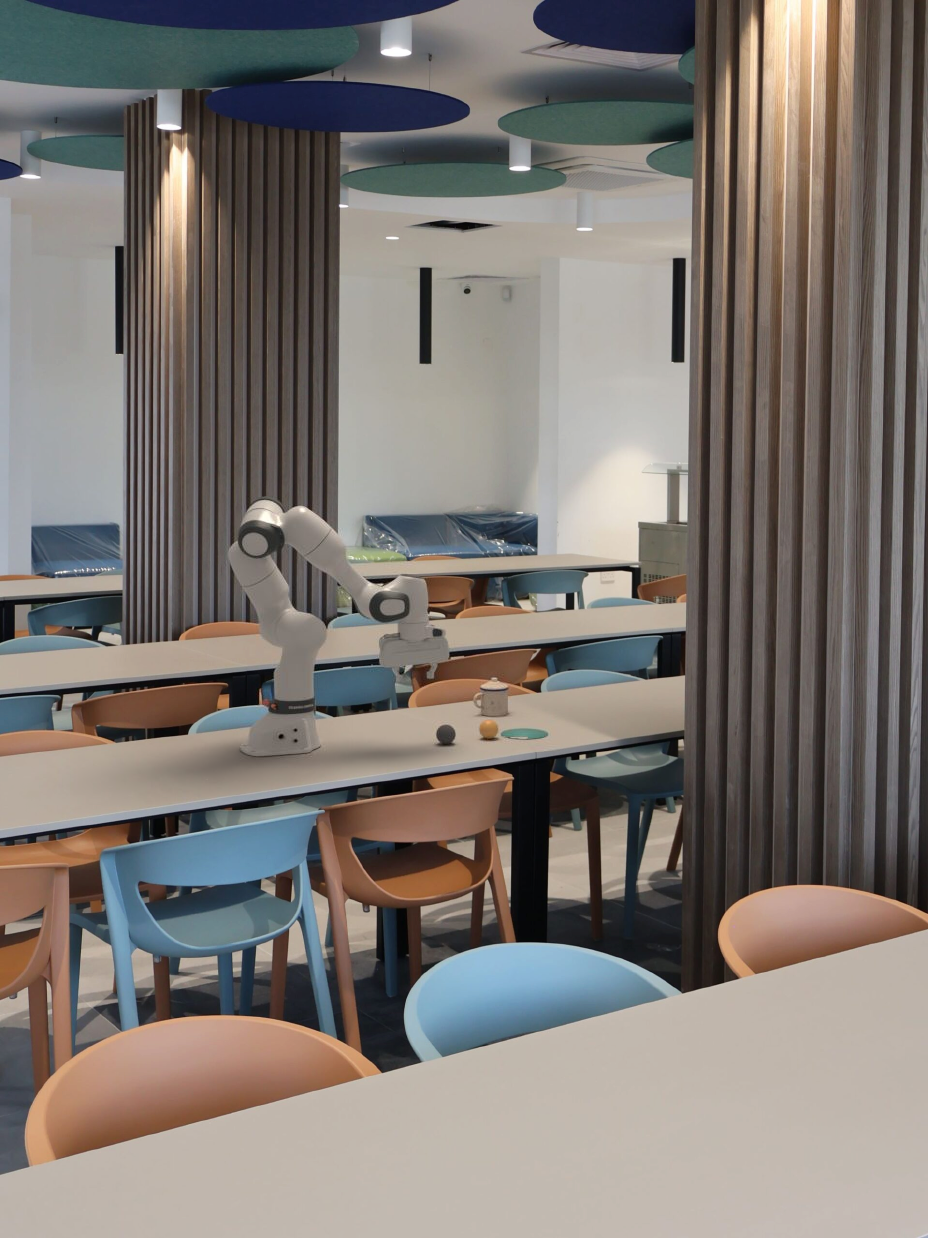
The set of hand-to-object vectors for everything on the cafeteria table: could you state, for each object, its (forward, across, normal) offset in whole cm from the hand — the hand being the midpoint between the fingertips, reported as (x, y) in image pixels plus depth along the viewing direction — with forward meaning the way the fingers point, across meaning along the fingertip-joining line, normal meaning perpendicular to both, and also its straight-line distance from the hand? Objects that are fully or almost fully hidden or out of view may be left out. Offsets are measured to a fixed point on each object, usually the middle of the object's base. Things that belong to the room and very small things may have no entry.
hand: (415, 680), depth 359 cm
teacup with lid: (+21, +38, +31) cm, 53 cm away
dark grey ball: (+17, +9, 0) cm, 19 cm away
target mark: (+20, +35, +1) cm, 40 cm away
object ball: (+17, +23, 0) cm, 28 cm away
